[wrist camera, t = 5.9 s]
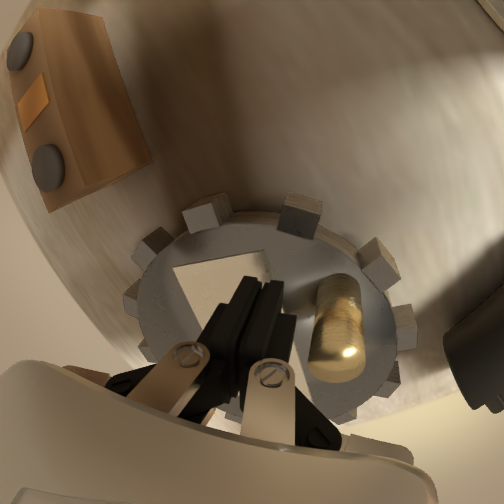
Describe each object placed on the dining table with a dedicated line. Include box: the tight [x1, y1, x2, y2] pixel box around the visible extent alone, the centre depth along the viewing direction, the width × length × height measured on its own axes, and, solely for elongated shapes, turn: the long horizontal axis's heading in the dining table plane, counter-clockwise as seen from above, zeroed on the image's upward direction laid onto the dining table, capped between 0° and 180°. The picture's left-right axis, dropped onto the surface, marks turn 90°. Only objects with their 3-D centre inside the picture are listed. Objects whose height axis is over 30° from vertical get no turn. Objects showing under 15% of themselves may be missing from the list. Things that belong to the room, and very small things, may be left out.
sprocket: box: [123, 192, 418, 425], centre depth 15 cm, size 18×18×6 cm
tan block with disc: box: [7, 7, 153, 213], centre depth 12 cm, size 4×12×7 cm, turn 21°
